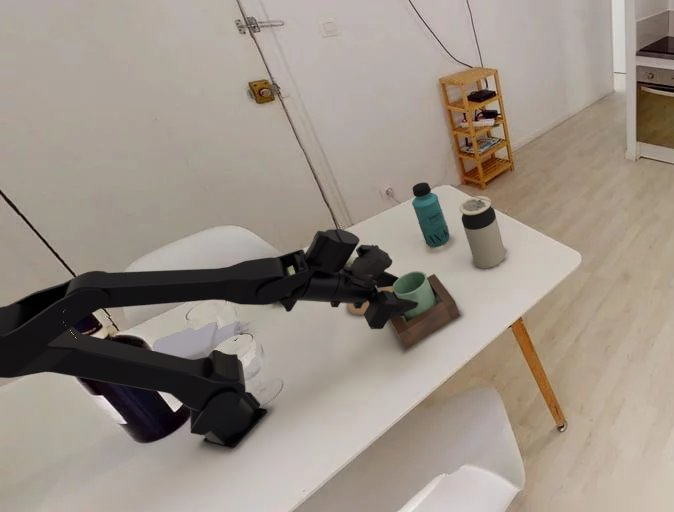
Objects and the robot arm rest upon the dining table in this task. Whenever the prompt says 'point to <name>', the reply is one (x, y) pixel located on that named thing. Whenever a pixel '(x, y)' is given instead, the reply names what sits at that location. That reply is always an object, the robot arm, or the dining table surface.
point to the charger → (197, 340)
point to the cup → (415, 292)
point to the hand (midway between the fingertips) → (409, 293)
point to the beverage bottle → (430, 216)
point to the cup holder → (427, 317)
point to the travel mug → (482, 231)
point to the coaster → (365, 305)
